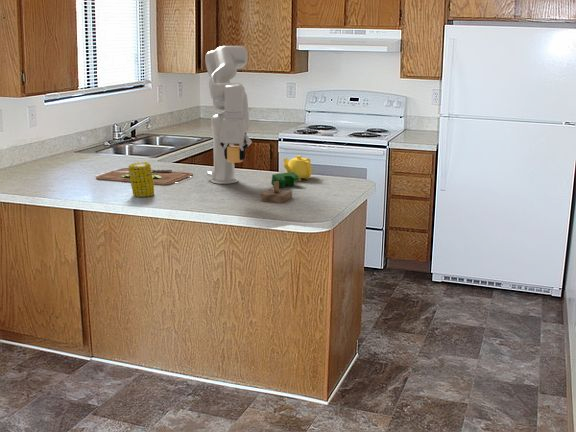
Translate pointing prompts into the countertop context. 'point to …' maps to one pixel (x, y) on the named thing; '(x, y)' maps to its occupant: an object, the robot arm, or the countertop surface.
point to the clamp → (285, 179)
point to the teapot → (299, 167)
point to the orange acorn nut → (233, 154)
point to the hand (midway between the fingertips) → (234, 158)
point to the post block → (276, 194)
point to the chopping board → (158, 176)
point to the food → (141, 179)
